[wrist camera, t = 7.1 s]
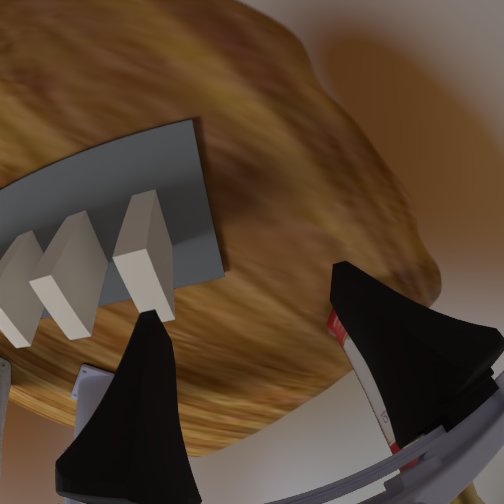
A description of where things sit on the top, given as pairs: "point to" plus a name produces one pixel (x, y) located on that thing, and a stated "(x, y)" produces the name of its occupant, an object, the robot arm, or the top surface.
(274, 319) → the top surface
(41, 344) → the top surface
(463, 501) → the liquor
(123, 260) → the domino
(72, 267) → the domino
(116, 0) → the top surface
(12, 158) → the top surface
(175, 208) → the runner mat
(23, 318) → the domino
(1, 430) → the skincare box
